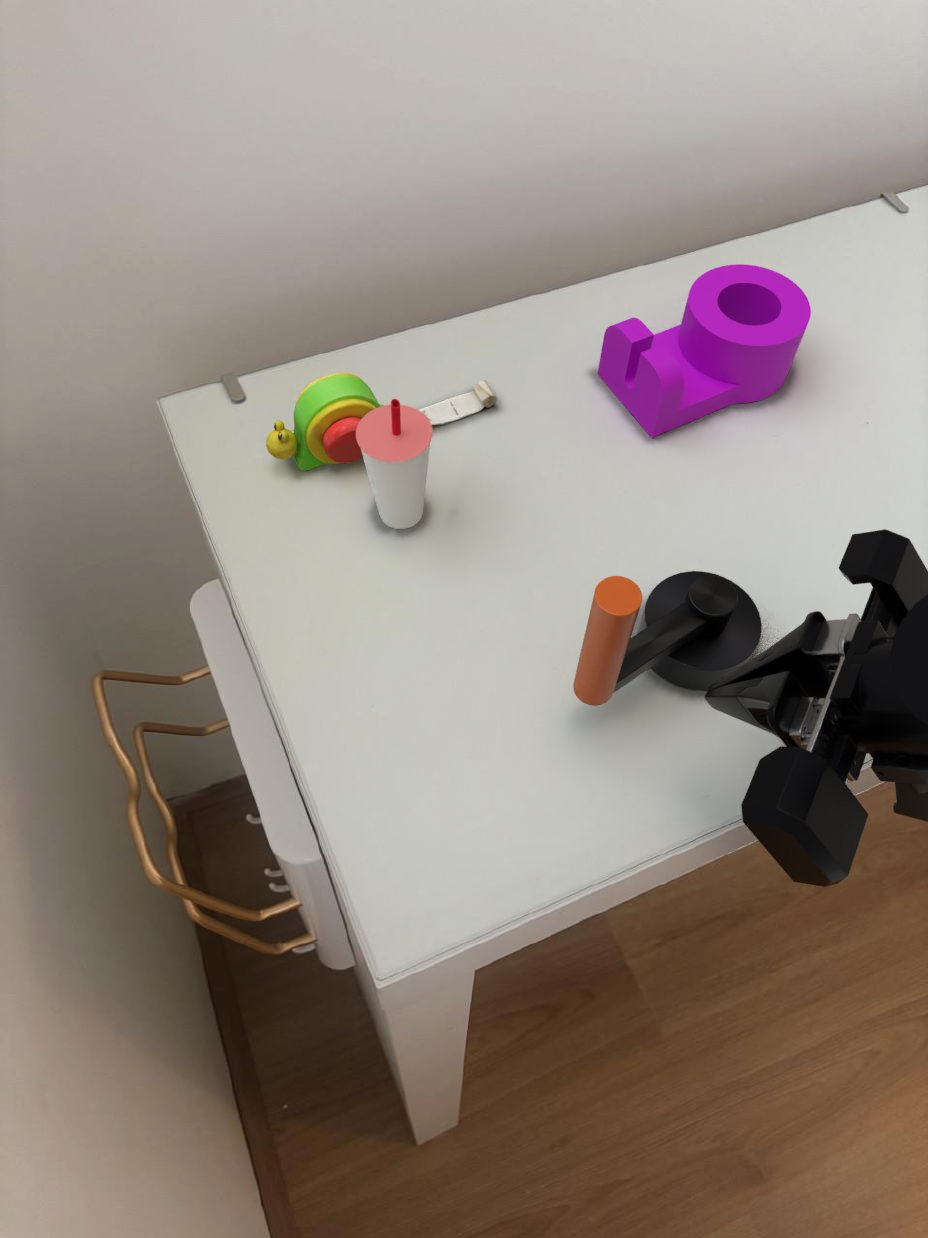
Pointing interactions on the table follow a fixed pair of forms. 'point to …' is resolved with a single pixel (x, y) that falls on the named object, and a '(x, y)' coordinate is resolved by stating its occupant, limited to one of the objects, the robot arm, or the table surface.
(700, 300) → the tape dispenser
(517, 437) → the table surface
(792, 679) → the robot arm
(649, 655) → the crank handle
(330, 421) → the toy measuring tape
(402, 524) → the cup
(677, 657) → the base
